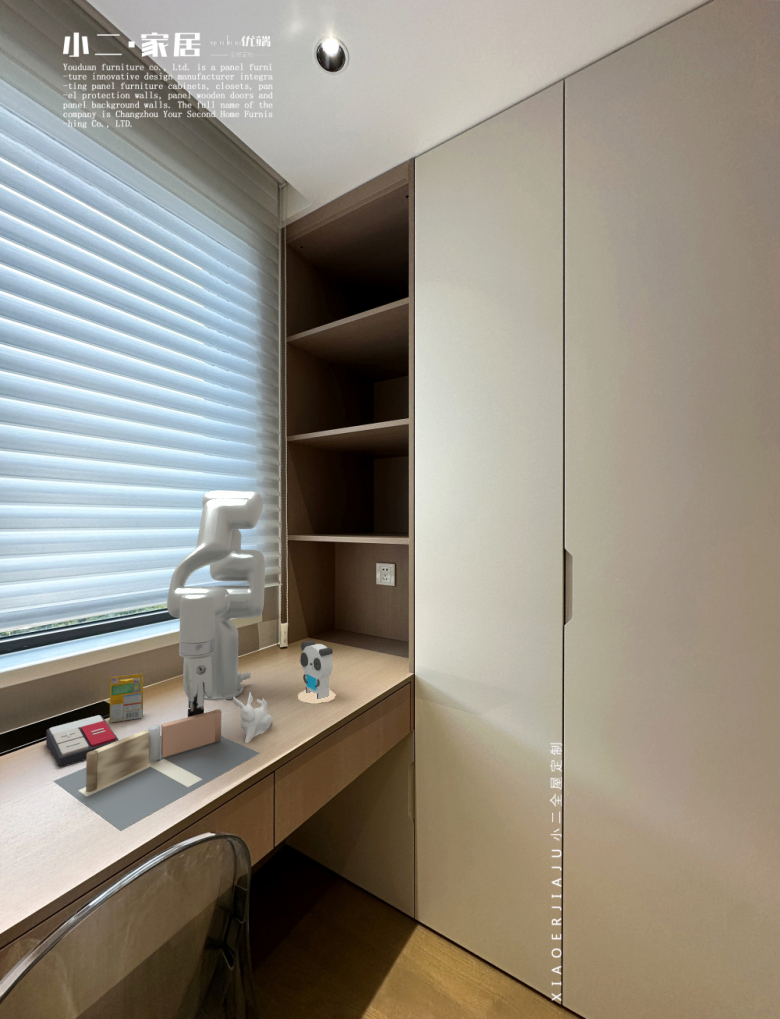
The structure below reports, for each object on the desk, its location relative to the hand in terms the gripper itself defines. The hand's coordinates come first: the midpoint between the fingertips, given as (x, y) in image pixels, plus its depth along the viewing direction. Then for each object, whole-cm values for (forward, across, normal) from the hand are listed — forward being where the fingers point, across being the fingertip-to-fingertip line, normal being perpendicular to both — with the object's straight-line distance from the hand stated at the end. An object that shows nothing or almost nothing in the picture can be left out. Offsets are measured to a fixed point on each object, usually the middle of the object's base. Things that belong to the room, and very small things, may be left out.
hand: (195, 725), depth 107 cm
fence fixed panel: (+4, -7, +16) cm, 18 cm away
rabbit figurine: (+4, -2, -12) cm, 13 cm away
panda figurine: (+5, +11, -35) cm, 37 cm away
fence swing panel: (+3, -4, +3) cm, 5 cm away
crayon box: (+5, +23, +12) cm, 26 cm away
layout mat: (+4, -7, +8) cm, 11 cm away
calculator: (+5, +11, +22) cm, 25 cm away
